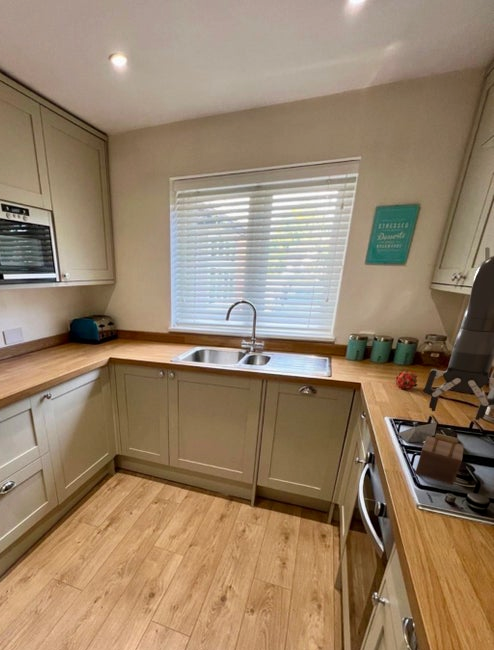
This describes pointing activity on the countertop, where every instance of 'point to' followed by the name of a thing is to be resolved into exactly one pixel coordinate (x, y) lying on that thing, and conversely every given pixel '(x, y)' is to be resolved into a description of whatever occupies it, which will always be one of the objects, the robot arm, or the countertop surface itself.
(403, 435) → the paper boat
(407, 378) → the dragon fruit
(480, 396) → the robot arm
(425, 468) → the chest
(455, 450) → the lid
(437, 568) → the countertop surface
